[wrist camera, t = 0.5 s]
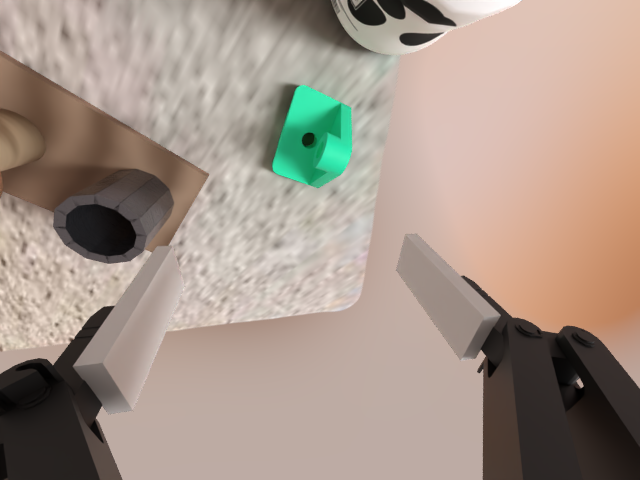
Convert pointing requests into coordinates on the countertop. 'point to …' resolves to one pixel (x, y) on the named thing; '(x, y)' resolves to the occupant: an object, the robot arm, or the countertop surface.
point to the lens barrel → (114, 216)
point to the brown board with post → (77, 147)
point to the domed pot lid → (1, 184)
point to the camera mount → (329, 139)
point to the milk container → (409, 21)
